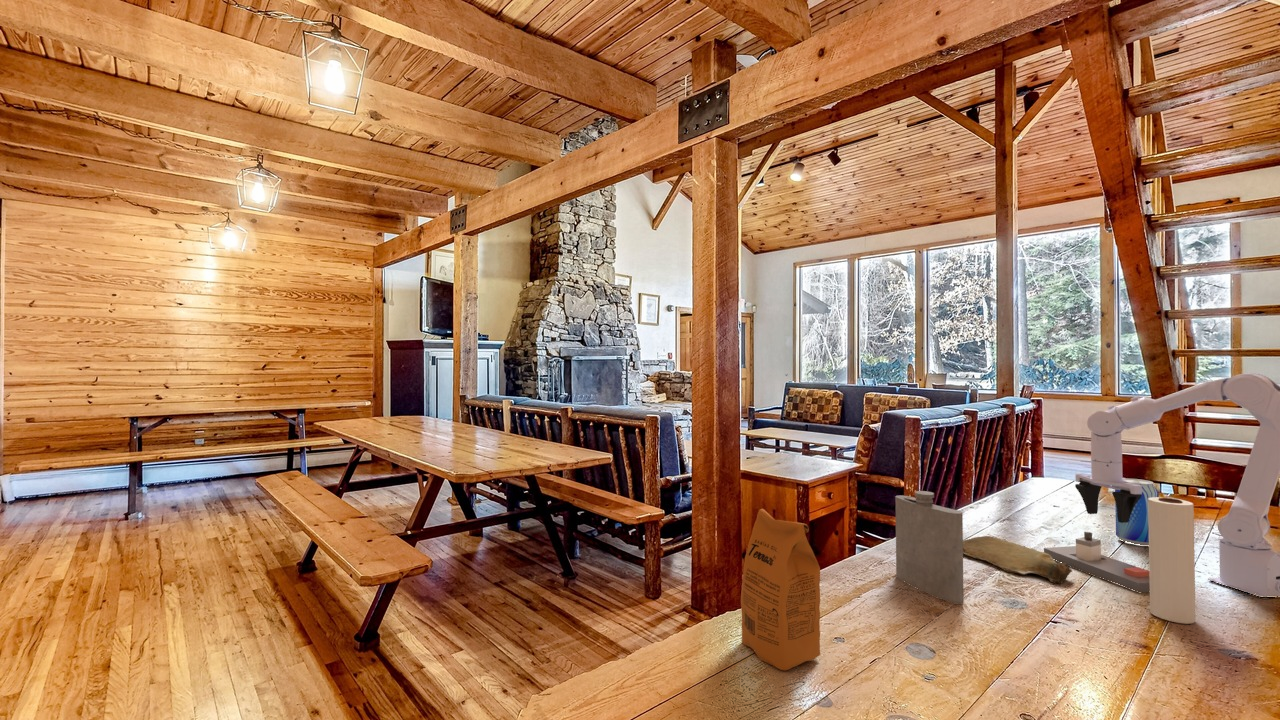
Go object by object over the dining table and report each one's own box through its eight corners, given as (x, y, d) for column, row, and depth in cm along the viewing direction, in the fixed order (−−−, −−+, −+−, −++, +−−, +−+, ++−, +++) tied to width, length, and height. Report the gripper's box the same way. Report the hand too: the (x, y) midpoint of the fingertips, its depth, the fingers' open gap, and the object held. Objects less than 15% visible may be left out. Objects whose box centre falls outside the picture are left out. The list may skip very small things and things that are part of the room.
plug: (1101, 566, 127) (1100, 533, 127) (1091, 569, 125) (1090, 535, 125) (1086, 562, 129) (1085, 529, 129) (1076, 565, 128) (1075, 532, 128)
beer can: (1169, 547, 139) (1167, 484, 139) (1136, 548, 139) (1134, 484, 139) (1138, 537, 147) (1137, 477, 148) (1107, 538, 147) (1106, 477, 147)
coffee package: (779, 628, 98) (778, 503, 98) (830, 662, 86) (828, 521, 86) (731, 639, 94) (730, 509, 94) (777, 677, 82) (776, 528, 82)
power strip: (1176, 590, 113) (1176, 575, 113) (1138, 593, 112) (1138, 578, 112) (1076, 554, 135) (1076, 541, 135) (1043, 556, 133) (1043, 543, 133)
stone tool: (1086, 578, 119) (980, 544, 142) (1084, 559, 118) (978, 528, 142) (1050, 593, 115) (946, 555, 138) (1047, 573, 115) (944, 539, 138)
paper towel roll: (1180, 626, 97) (1178, 504, 97) (1141, 612, 103) (1139, 497, 103) (1209, 621, 99) (1206, 502, 99) (1168, 607, 105) (1166, 494, 105)
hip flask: (967, 602, 108) (966, 499, 108) (951, 605, 106) (950, 501, 107) (904, 573, 123) (903, 483, 123) (889, 576, 121) (888, 484, 122)
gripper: (1152, 465, 126) (1153, 525, 126) (1092, 455, 141) (1092, 509, 140) (1126, 466, 125) (1127, 527, 125) (1067, 456, 140) (1068, 510, 139)
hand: (1107, 517), depth 133 cm, fingers open, 7 cm apart
